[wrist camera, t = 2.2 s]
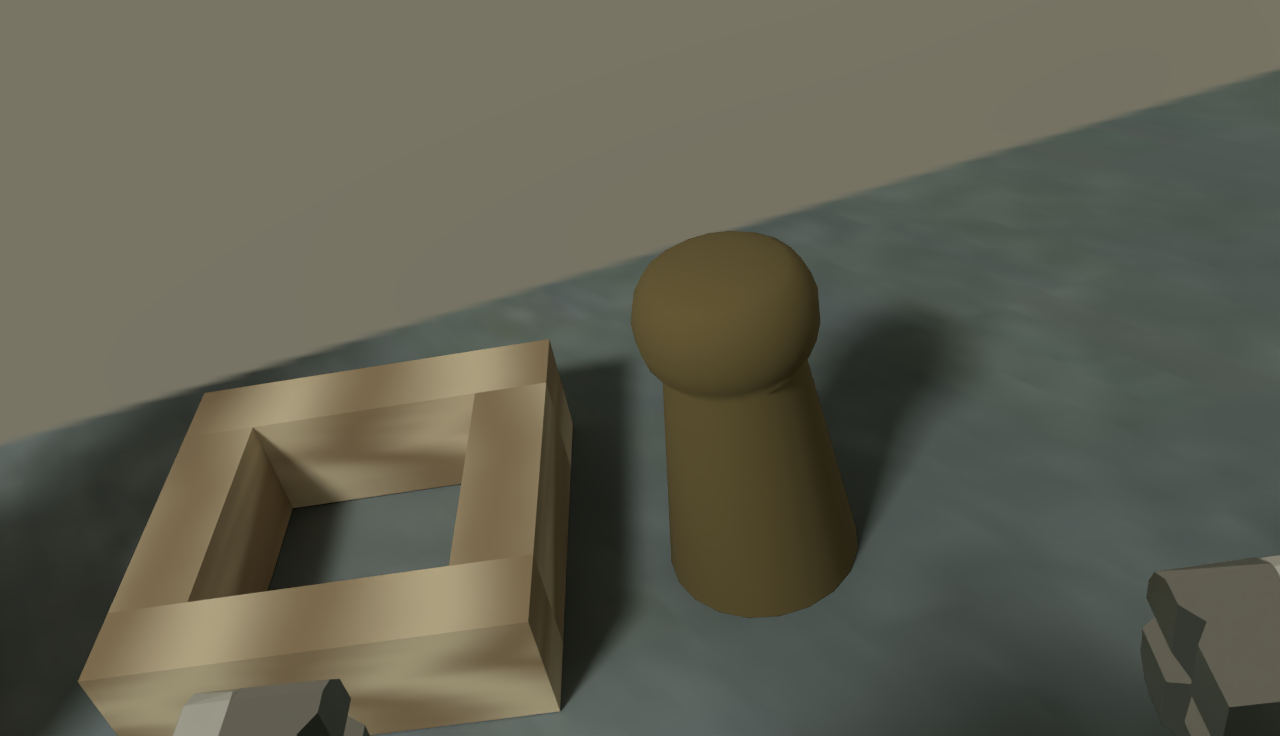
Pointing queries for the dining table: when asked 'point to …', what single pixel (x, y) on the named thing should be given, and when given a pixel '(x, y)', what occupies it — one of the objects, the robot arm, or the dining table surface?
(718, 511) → the cork
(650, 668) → the dining table surface
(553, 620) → the socket block
